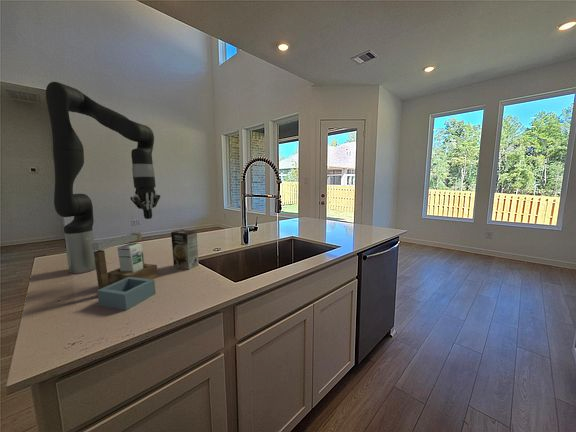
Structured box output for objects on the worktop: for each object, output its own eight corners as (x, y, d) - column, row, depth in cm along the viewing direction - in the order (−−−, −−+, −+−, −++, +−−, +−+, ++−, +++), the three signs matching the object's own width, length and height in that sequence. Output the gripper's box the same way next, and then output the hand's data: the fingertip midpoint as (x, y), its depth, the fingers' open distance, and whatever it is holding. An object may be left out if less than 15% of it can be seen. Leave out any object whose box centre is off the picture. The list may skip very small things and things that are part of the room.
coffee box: (173, 267, 108) (170, 232, 105) (184, 262, 114) (181, 229, 111) (188, 270, 104) (186, 233, 102) (199, 265, 110) (197, 230, 108)
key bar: (91, 250, 80) (90, 243, 79) (134, 239, 95) (133, 232, 95) (99, 251, 79) (98, 243, 78) (141, 239, 94) (140, 233, 94)
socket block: (89, 294, 83) (83, 250, 81) (135, 274, 101) (131, 238, 98) (114, 298, 80) (109, 253, 78) (157, 276, 98) (154, 239, 95)
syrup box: (134, 284, 90) (130, 247, 88) (121, 283, 91) (116, 246, 89) (146, 278, 96) (142, 243, 94) (133, 277, 97) (129, 242, 95)
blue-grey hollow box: (99, 305, 75) (97, 290, 75) (130, 290, 86) (128, 276, 85) (126, 310, 73) (124, 294, 72) (155, 293, 83) (154, 279, 82)
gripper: (149, 176, 104) (153, 216, 106) (121, 175, 91) (126, 221, 94) (164, 175, 102) (167, 216, 104) (137, 175, 89) (142, 221, 92)
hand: (148, 218), depth 99 cm, fingers closed
